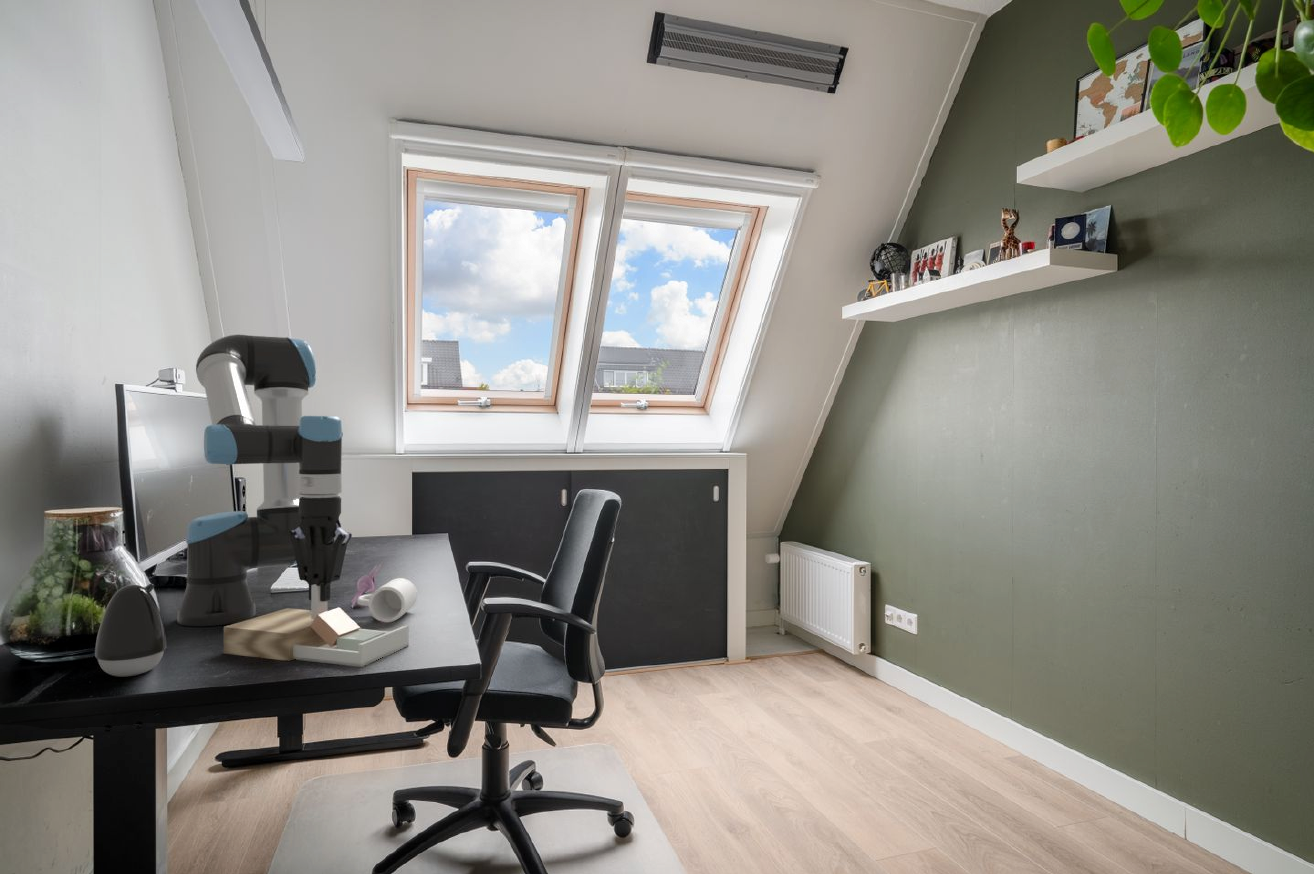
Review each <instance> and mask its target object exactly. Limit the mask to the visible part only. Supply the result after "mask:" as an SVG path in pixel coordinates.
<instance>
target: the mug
mask: <svg viewBox="0 0 1314 874" xmlns="http://www.w3.org/2000/svg"><path fill="white" fill-rule="evenodd" d="M417 600H418V590H417V588H416V585H415V584H414V582H412V581H410V580H409V579H407V578H403V577H401V578H400V577H399V578H397V577H396V578H393V579H392V580H390V581H388V582H387V583H385V584H383V585H382V586H380V587H378V588H376V589H375V591H372V593H367V594H364V595H361V596H360V597H359V598H358V600H357V601H356V602H357V604H358V605H360V606H363V607H368V611H369V612H370V615H371V616H372V617H373V618H374V619H375V620H377V621H378V622H381V623H393V622H395V621H397V620H398V619H400V618H401V617H402V616H403V615H405V614H406V613H407V612H409V611H410V610H411V609H412V608H413V607H414V606H415V604H416V602H417Z"/></svg>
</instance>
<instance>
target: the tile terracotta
mask: <svg viewBox="0 0 1314 874" xmlns="http://www.w3.org/2000/svg"><path fill="white" fill-rule="evenodd" d="M347 614H348V613H346V612H345V611H344V610H343V609H342V608H341V607H337V608H333V609H330V610H327V611H326V612H323V613H320V614H318V615H317V616H316V618H315V619H314V621H313V622H312V624H311V625H310V627H311V628H312V629H313V630H314V631H315V632H316V633H317V634H318V635H319V636H320V637H321V638H322V639H323V640H324V641H325V642H326V643H327V644H328V645H329V646H330V647H333V646H335V645H337V637H340V636H343V635H346V634H348V633H351V632H354V631H356V630H359V629H361V626H359V625H358V623H356V622H355V620H354V619H352V618H351V617H350V616H349V614H348V615H347Z"/></svg>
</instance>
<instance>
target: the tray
mask: <svg viewBox="0 0 1314 874" xmlns="http://www.w3.org/2000/svg"><path fill="white" fill-rule="evenodd" d="M409 627H410V625H402V626H401V627H398V628H396V629H394V630H391V631H387V630H376V629H367V628H359V630H365V631H376V632H384V634H383V635H381V636H378V637H376V638H373V639H371V640H368V641H366V642H363V643H361V644H358V651H351V650H341V649H337V645H335V646H333V647H330V646H329V645H328V644H325V645H322V646H320V647H313V646H304V645H294V646H293V659H292V660H294V659H296V661H305V662H313V663H314V662H315V663H322V664H331V665H339V666H340V665H341V666H348V667H358V668H364V667H365V665H366V666H368V665H370V664H372V663H374V661H375V662H377V661H379V660H381V659H383V658H386V657H387V656H390V655H392V654H394V652H395V653H397V652H399V651H401V650H403V649H405V648H404V647H406V648H407V647H410V646H409V632H410V629H409ZM402 648H403V649H402ZM400 649H401V650H400ZM398 650H399V651H398ZM396 651H397V652H396ZM382 657H383V658H382ZM380 658H381V659H380ZM378 659H379V660H378ZM376 660H377V661H376Z"/></svg>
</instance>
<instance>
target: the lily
mask: <svg viewBox="0 0 1314 874" xmlns="http://www.w3.org/2000/svg"><path fill="white" fill-rule="evenodd" d="M381 566H382V563H381V564H379V565H378V564H376V565H374V567H373V568H372V570H371V571H370V573H369V574H368V575H366V574H365V575H361V577H360V578H359V579H358V580H357V583H356V589H357V590H358V591H357V592H356V593H355V595H353V598H352V600H351V601H350V603H351V607H352V609H353V608H354V606H355V604H356V602H357V600H358V598H359V597H360V596H362V595H367V594H370V593H371V592H372V593H373V592H374V591H375V590H376V587H375V586H376V584H375V575H376V573H377V572H378V570H379V569H380V568H381Z"/></svg>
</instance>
